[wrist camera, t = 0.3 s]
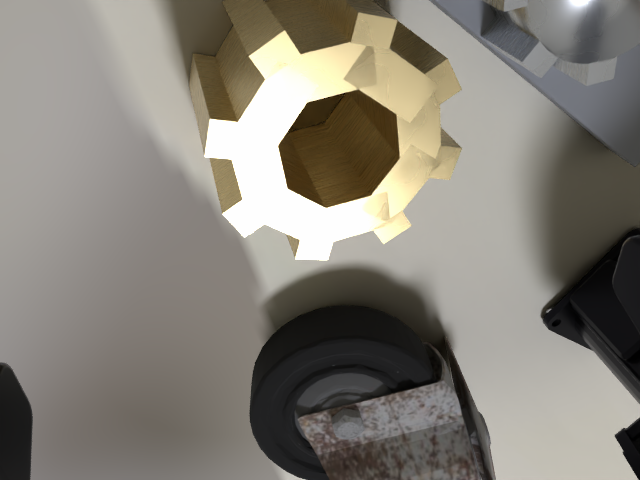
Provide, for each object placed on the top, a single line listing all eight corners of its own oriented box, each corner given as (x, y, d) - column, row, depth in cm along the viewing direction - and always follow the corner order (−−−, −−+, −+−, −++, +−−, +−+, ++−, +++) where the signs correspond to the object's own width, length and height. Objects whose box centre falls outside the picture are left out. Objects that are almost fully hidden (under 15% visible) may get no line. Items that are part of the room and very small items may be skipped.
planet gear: (435, 50, 20) (510, 107, 16) (320, 204, 22) (360, 286, 18) (268, -79, 16) (312, -47, 12) (153, 120, 19) (159, 200, 15)
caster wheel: (231, 304, 27) (440, 250, 27) (297, 470, 32) (474, 428, 32) (217, 402, 21) (485, 335, 21) (300, 588, 26) (519, 538, 26)
